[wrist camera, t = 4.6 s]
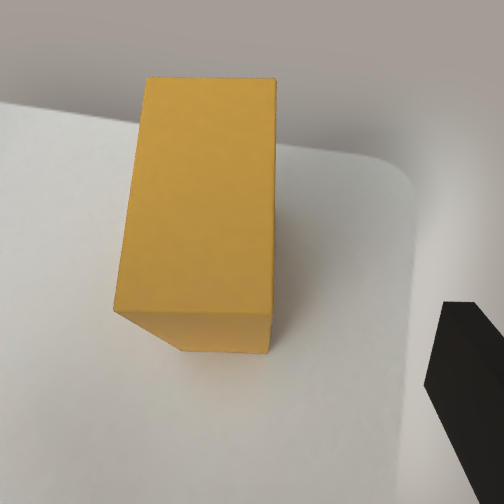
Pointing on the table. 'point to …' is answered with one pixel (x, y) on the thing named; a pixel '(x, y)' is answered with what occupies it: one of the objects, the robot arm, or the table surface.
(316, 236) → the table surface
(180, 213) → the block
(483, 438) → the robot arm
